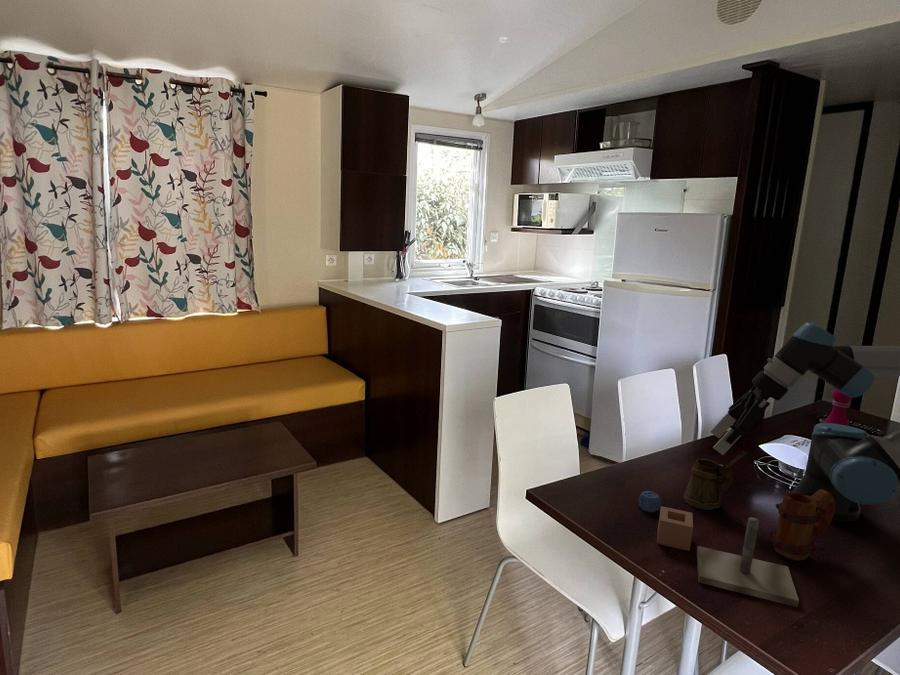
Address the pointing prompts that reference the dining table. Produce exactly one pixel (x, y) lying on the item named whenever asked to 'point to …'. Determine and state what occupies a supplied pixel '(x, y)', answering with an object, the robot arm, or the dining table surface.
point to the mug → (801, 523)
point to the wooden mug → (708, 483)
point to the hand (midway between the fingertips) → (716, 442)
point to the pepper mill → (839, 408)
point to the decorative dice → (649, 501)
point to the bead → (675, 528)
